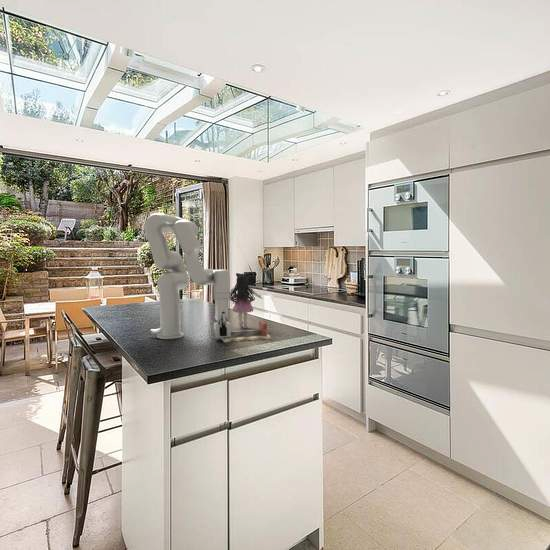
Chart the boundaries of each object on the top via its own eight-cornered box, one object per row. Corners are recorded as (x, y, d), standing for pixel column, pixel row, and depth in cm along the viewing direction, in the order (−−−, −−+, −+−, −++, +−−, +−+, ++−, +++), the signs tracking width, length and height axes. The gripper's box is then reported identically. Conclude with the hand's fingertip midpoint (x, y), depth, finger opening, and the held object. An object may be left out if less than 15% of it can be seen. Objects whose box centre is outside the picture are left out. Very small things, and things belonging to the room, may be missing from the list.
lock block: (215, 337, 168) (215, 324, 168) (214, 335, 174) (213, 322, 173) (230, 336, 170) (230, 323, 170) (228, 334, 176) (228, 321, 175)
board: (224, 342, 167) (224, 326, 167) (220, 337, 177) (220, 322, 176) (270, 339, 173) (270, 323, 173) (265, 334, 183) (265, 320, 183)
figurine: (264, 326, 204) (264, 272, 203) (262, 330, 194) (261, 273, 192) (224, 326, 206) (224, 272, 205) (220, 329, 196) (219, 273, 195)
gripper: (211, 294, 178) (211, 331, 179) (216, 298, 161) (216, 339, 162) (226, 294, 180) (227, 330, 181) (233, 297, 164) (233, 337, 165)
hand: (222, 334), depth 172 cm, fingers closed on lock block, 6 cm apart
